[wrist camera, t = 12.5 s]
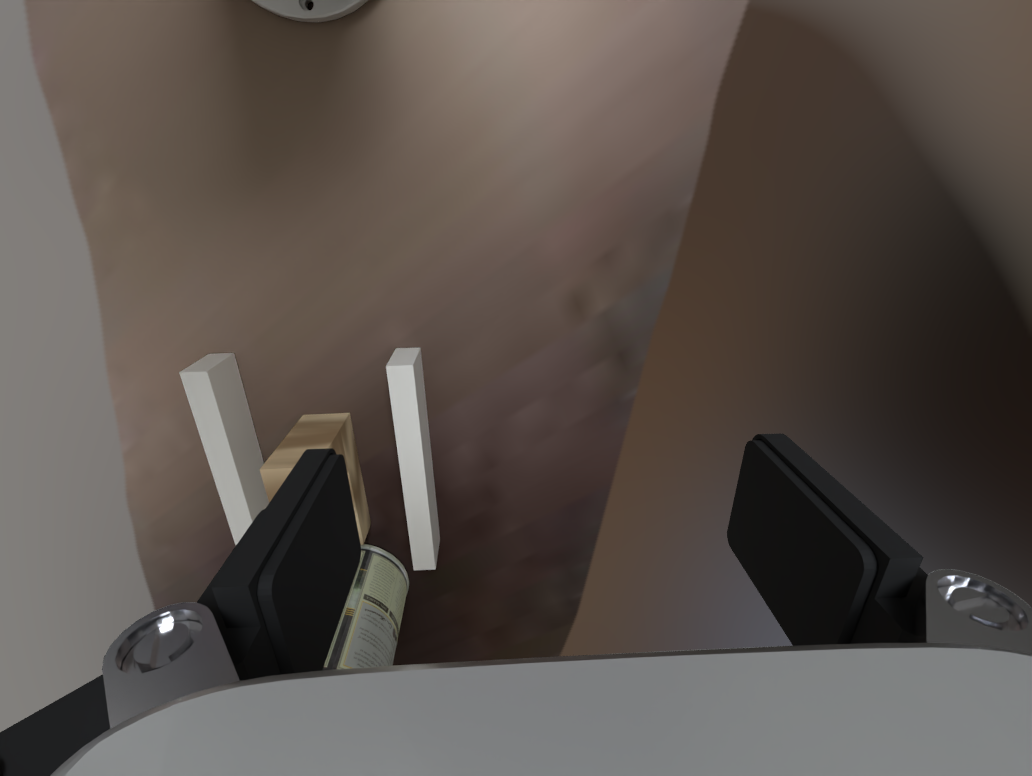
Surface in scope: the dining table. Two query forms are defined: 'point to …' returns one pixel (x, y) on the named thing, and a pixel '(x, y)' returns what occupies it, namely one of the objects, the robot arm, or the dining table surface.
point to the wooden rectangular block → (320, 435)
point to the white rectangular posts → (240, 459)
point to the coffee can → (370, 613)
